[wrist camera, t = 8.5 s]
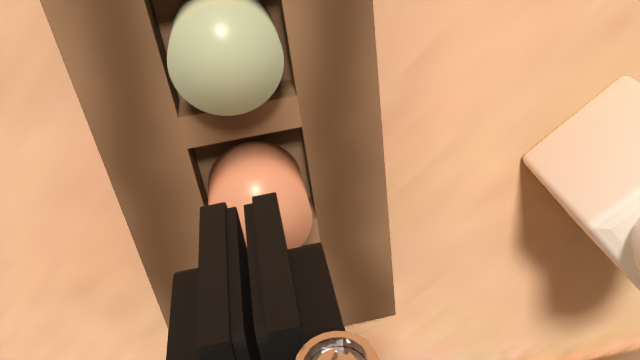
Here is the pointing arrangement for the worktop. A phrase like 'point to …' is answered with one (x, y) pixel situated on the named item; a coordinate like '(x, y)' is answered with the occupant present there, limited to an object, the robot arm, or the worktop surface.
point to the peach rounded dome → (262, 185)
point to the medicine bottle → (599, 171)
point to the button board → (238, 134)
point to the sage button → (224, 55)
